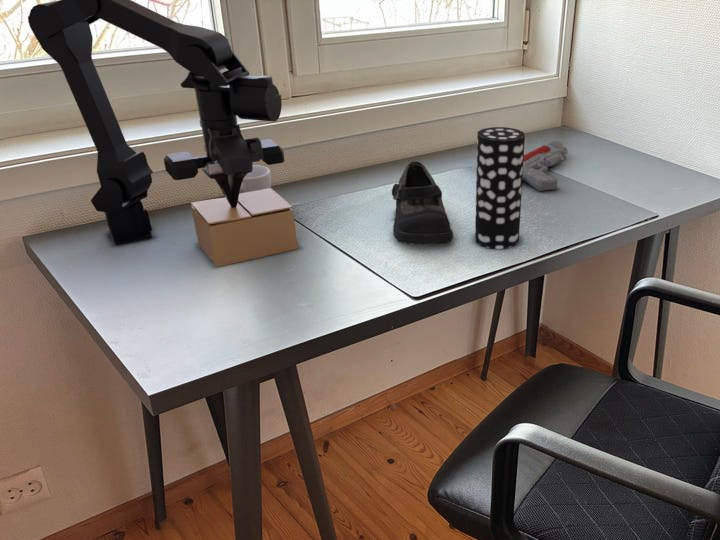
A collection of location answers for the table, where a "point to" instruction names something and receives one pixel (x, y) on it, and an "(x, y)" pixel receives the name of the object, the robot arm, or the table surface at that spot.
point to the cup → (256, 179)
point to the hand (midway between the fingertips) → (233, 206)
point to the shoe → (419, 208)
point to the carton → (249, 230)
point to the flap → (219, 211)
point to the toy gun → (542, 165)
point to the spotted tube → (499, 186)
